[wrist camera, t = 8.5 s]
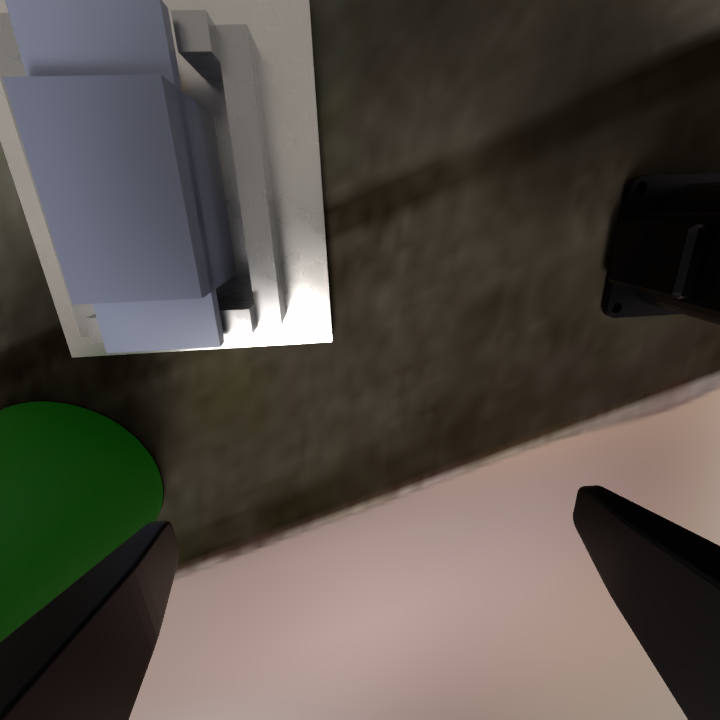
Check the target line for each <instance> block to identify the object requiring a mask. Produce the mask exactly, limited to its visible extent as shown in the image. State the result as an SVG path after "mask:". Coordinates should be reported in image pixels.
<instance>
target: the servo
mask: <svg viewBox="0 0 720 720" xmlns="http://www.w3.org/2000/svg"><path fill="white" fill-rule="evenodd" d="M5 3H6V6H7V10H8V13H9V17H10V20H11V24H12V27H13V31H14V34H15V38H16V41H17V44H18V48H19V51H20V55H21V58H22V62H23V65H24V69H25V72H26V76H27V77H3V80H4V84H5V87H6V90H7V93H8V97H9V100H10V103H11V106H12V110H13V113H14V116H15V119H16V123H17V126H18V129H19V132H20V136H21V139H22V142H23V145H24V149H25V152H26V155H27V158H28V162H29V165H30V168H31V171H32V175H33V178H34V181H35V184H36V188H37V191H38V194H39V197H40V201H41V204H42V207H43V210H44V214H45V217H46V220H47V223H48V227H49V230H50V233H51V236H52V239H53V243H54V246H55V249H56V252H57V256H58V259H59V262H60V265H61V269H62V272H63V275H64V278H65V282H66V285H67V288H68V291H69V295H70V298H71V301H72V304H73V305H77V304H93V308H94V311H95V314H96V318H97V321H98V325H99V328H100V332H101V335H102V339H103V342H104V346H105V349H106V353H121V352H139V351H157V350H175V349H193V348H211V347H221V346H222V344H223V343H224V342H225V341H224V335H223V329H222V324H221V318H220V312H219V306H218V300H217V294H216V288H218V287H219V286H221V285H222V284H223V283H225V282H226V281H228V280H229V279H231V278H232V277H234V276H235V275H236V274H237V272H236V266H235V259H234V252H233V245H232V239H231V232H230V225H229V218H228V212H227V205H226V198H225V191H224V185H223V178H222V171H221V164H220V158H219V151H218V144H217V137H216V130H215V124H214V117H213V116H212V115H211V114H210V113H209V112H207V111H206V110H205V109H204V108H202V107H201V106H200V105H199V104H197V103H196V102H195V101H194V100H192V99H191V98H190V97H189V96H187V95H186V94H185V93H184V92H182V88H181V82H180V76H179V70H178V64H177V58H176V52H175V46H174V41H173V35H172V29H171V23H170V17H169V11H168V7H167V6H166V5H165V4H164V3H163V1H162V0H5Z"/></svg>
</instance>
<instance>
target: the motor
mask: <svg viewBox="0 0 720 720" xmlns="http://www.w3.org/2000/svg"><path fill="white" fill-rule="evenodd" d="M162 501H163V485H162V480H161V476H160V473H159V470H158V468H157V466H156V464H155V462H154V460H153V458H152V457H151V455H150V454H149V452H148V451H147V450H146V448H145V447H144V446H143V445H142V444H141V443H140V442H139V441H138V440H137V439H136V438H135V437H134V436H133V435H132V434H131V433H130V432H128V431H127V430H126V429H125V428H123V427H122V426H120V425H119V424H117V423H116V422H114V421H112V420H111V419H109V418H107V417H105V416H103V415H101V414H99V413H96V412H94V411H91V410H89V409H86V408H83V407H79V406H75V405H71V404H66V403H59V402H48V401H38V402H26V403H21V404H16V405H12V406H9V407H6V408H4V409H3V410H1V411H0V642H1V641H2V640H3V639H4V638H6V637H7V636H8V635H9V634H11V633H12V632H13V631H14V630H16V629H17V628H18V627H19V626H21V625H22V624H23V623H24V622H25V621H27V620H28V619H29V618H30V617H32V616H33V615H34V614H35V613H37V612H38V611H39V610H40V609H42V608H43V607H44V606H45V605H47V604H48V603H49V602H50V601H52V600H53V599H54V598H55V597H57V596H58V595H59V594H60V593H62V592H63V591H64V590H65V589H66V588H68V587H69V586H70V585H71V584H73V583H74V582H75V581H76V580H78V579H79V578H80V577H81V576H83V575H84V574H85V573H86V572H88V571H89V570H90V569H91V568H93V567H94V566H95V565H96V564H98V563H99V562H100V561H101V560H103V559H104V558H105V557H106V556H107V555H109V554H110V553H111V552H112V551H114V550H115V549H116V548H117V547H119V546H120V545H121V544H122V543H124V542H125V541H126V540H127V539H129V538H130V537H131V536H132V535H134V534H135V533H136V532H137V531H139V530H140V529H141V528H142V527H144V526H145V525H146V524H148V523H150V522H155V521H156V519H157V517H158V515H159V513H160V510H161V506H162Z"/></svg>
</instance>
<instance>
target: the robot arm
mask: <svg viewBox="0 0 720 720" xmlns="http://www.w3.org/2000/svg"><path fill="white" fill-rule="evenodd" d="M639 183H640V185H641V188H640V191H639V192H638V193H637V191H636V187H637V185H638V184H639ZM607 278H608V279H607V284H606V290H605V295H604V300H603V305H602V311H603V313H604V314H605V315H607V316H610V317H613V318H620V317H637V316H654V315H671V314H685V315H688V316H691V317H695V318H698V319H701V320H705V321H708V322H712V323H715V324H718V325H720V172H719V173H694V174H668V175H644V176H636V177H633V178H632V179H630V180H629V181H628V183H627V184H626V187H625V190H624V195H623V200H622V206H621V211H620V216H619V221H618V226H617V228H616V233H615V239H614V244H613V249H612V254H611V260H610V265H609V270H608V275H607ZM615 304H617V306H616V308H615V309H614V310H613V311H612V307H613V306H614V305H615ZM573 521H574V524H575V527H576V529H577V531H578V533H579V535H580V537H581V539H582V541H583V543H584V545H585V547H586V549H587V551H588V552H589V555H590V557H591V558H592V561H593V563H594V565H595V567H596V568H597V571H598V572H599V574H600V576H601V578H602V580H603V582H604V584H605V586H606V588H607V590H608V592H609V593H610V595H611V597H612V598H613V600H614V602H615V603H616V605H617V607H618V608H619V610H620V612H621V613H622V615H623V616H624V618H625V620H626V621H627V623H628V624H629V626H630V628H631V629H632V631H633V632H634V634H635V636H636V637H637V639H638V640H639V642H640V644H641V645H642V647H643V648H644V650H645V652H646V653H647V655H648V656H649V658H650V660H651V661H652V663H653V664H654V666H655V667H656V669H657V671H658V672H659V674H660V675H661V677H662V679H663V680H664V682H665V683H666V685H667V687H668V688H669V690H670V691H671V693H672V695H673V696H674V698H675V699H676V701H677V703H678V704H679V706H680V707H681V709H682V711H683V712H684V714H685V715H686V717H687V719H688V720H720V546H719V545H717V544H715V543H713V542H711V541H709V540H707V539H705V538H703V537H701V536H699V535H697V534H695V533H693V532H691V531H689V530H687V529H685V528H683V527H681V526H679V525H677V524H675V523H673V522H671V521H669V520H667V519H665V518H663V517H661V516H659V515H657V514H655V513H653V512H651V511H649V510H647V509H645V508H643V507H641V506H639V505H637V504H635V503H633V502H631V501H629V500H627V499H625V498H623V497H621V496H619V495H617V494H615V493H613V492H611V491H609V490H607V489H605V488H603V487H601V486H583V487H581V488H580V489H579V490H578V493H577V498H576V503H575V508H574V512H573ZM178 559H179V549H178V545H177V541H176V538H175V534H174V530H173V527H172V524H171V523H170V522H169V521H156V522H150V523H148V524H146V525H145V526H144V527H142V528H141V529H140V530H139V531H137V532H136V533H135V534H134V535H132V536H131V537H130V538H129V539H127V540H126V541H125V542H124V543H122V544H121V545H120V546H119V547H117V548H116V549H115V550H114V551H112V552H111V553H110V554H109V555H107V556H106V557H105V558H104V559H103V560H101V561H100V562H99V563H98V564H96V565H95V566H94V567H93V568H91V569H90V570H89V571H88V572H86V573H85V574H84V575H83V576H81V577H80V578H79V579H78V580H76V581H75V582H74V583H73V584H71V585H70V586H69V587H68V588H66V589H65V590H64V591H63V592H62V593H60V594H59V595H58V596H57V597H55V598H54V599H53V600H52V601H50V602H49V603H48V604H47V605H45V606H44V607H43V608H42V609H40V610H39V611H38V612H37V613H35V614H34V615H33V616H32V617H30V618H29V619H28V620H27V621H25V622H24V623H23V624H22V625H21V626H19V627H18V628H17V629H16V630H14V631H13V632H12V633H11V634H9V635H8V636H7V637H6V638H4V639H3V640H2V641H1V642H0V720H129V717H130V714H131V711H132V708H133V706H134V703H135V700H136V698H137V695H138V692H139V690H140V687H141V684H142V681H143V679H144V676H145V673H146V670H147V668H148V664H149V662H150V659H151V657H152V654H153V651H154V648H155V645H156V642H157V639H158V636H159V633H160V629H161V626H162V622H163V618H164V614H165V610H166V606H167V603H168V598H169V594H170V591H171V587H172V583H173V579H174V575H175V572H176V568H177V564H178Z"/></svg>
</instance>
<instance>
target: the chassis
mask: <svg viewBox="0 0 720 720" xmlns="http://www.w3.org/2000/svg"><path fill="white" fill-rule="evenodd" d="M162 1H163V3H164V4H165V5H166V6H167V7H168V11H169V17H170V23H171V29H172V35H173V41H174V46H175V52H176V58H177V64H178V70H179V76H180V82H181V88H182V92H184V93H185V94H186V95H187V96H189V97H190V98H191V99H192V100H194V101H195V102H196V103H197V104H199V105H200V106H201V107H202V108H204V109H205V110H206V111H207V112H209V113H210V114H211V115H212V116H213V117H214V124H215V130H216V137H217V144H218V151H219V158H220V164H221V171H222V178H223V185H224V191H225V198H226V205H227V212H228V218H229V225H230V232H231V239H232V245H233V252H234V259H235V266H236V272H237V274H236V275H235V276H234V277H232V278H231V279H229V280H228V281H226V282H225V283H223V284H222V285H221V286H219V287H218V288H216V294H217V300H218V306H219V312H220V318H221V324H222V329H223V335H224V341H225V342H224V343H223V344H222V346H221V347H211V348H193V349H175V350H157V351H139V352H121V353H106V349H105V346H104V342H103V339H102V335H101V332H100V328H99V325H98V321H97V318H96V314H95V311H94V308H93V304H77V305H73V304H72V301H71V298H70V295H69V291H68V288H67V285H66V282H65V278H64V275H63V272H62V269H61V265H60V262H59V259H58V256H57V252H56V249H55V246H54V243H53V239H52V236H51V233H50V230H49V227H48V223H47V220H46V217H45V214H44V210H43V207H42V204H41V201H40V197H39V194H38V191H37V188H36V184H35V181H34V178H33V175H32V171H31V168H30V165H29V162H28V158H27V155H26V152H25V149H24V145H23V142H22V139H21V136H20V132H19V129H18V126H17V123H16V119H15V116H14V113H13V110H12V106H11V103H10V100H9V97H8V93H7V90H6V87H5V84H4V80H3V77H27V76H26V72H25V69H24V65H23V62H22V58H21V55H20V51H19V48H18V44H17V41H16V38H15V34H14V31H13V27H12V24H11V20H10V17H9V13H8V10H7V6H6V3H5V0H0V141H1V144H2V147H3V150H4V153H5V156H6V159H7V162H8V165H9V168H10V171H11V174H12V177H13V180H14V183H15V186H16V189H17V192H18V195H19V198H20V201H21V205H22V208H23V211H24V214H25V217H26V220H27V223H28V226H29V229H30V232H31V235H32V238H33V241H34V244H35V247H36V250H37V253H38V256H39V259H40V262H41V265H42V268H43V271H44V274H45V277H46V280H47V283H48V286H49V289H50V292H51V295H52V298H53V301H54V305H55V308H56V311H57V314H58V317H59V320H60V323H61V326H62V329H63V332H64V335H65V338H66V341H67V344H68V347H69V350H70V353H71V356H72V358H73V357H90V356H107V355H123V354H140V353H157V352H174V351H190V350H207V349H224V348H240V347H257V346H274V345H290V344H307V343H324V342H332V323H331V309H330V294H329V279H328V265H327V250H326V235H325V221H324V206H323V191H322V177H321V162H320V147H319V132H318V118H317V103H316V88H315V74H314V59H313V44H312V30H311V15H310V3H309V0H162Z"/></svg>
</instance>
